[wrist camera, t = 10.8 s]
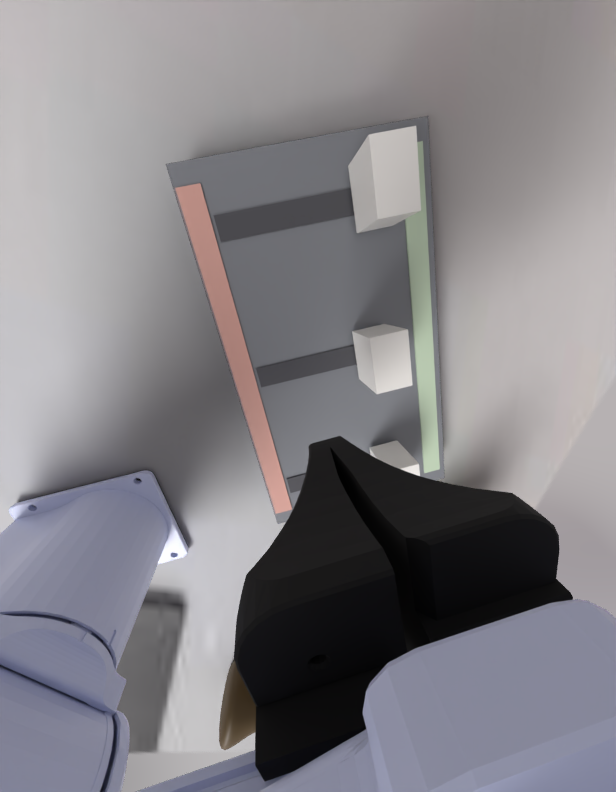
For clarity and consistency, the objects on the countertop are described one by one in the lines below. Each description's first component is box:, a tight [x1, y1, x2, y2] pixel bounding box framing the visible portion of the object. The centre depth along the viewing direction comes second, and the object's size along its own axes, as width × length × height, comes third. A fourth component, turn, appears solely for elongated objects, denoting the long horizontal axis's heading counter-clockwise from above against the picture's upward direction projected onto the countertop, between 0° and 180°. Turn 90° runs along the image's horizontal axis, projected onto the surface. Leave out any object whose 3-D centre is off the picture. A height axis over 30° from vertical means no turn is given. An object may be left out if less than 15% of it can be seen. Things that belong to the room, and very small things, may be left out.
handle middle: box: [352, 324, 413, 394], centre depth 16 cm, size 2×3×3 cm, turn 12°
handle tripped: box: [348, 126, 421, 233], centre depth 14 cm, size 2×3×3 cm, turn 12°
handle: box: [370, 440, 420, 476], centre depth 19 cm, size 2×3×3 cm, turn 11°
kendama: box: [219, 660, 256, 750], centre depth 26 cm, size 6×10×20 cm
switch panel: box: [166, 116, 445, 524], centre depth 19 cm, size 13×22×2 cm, turn 12°
